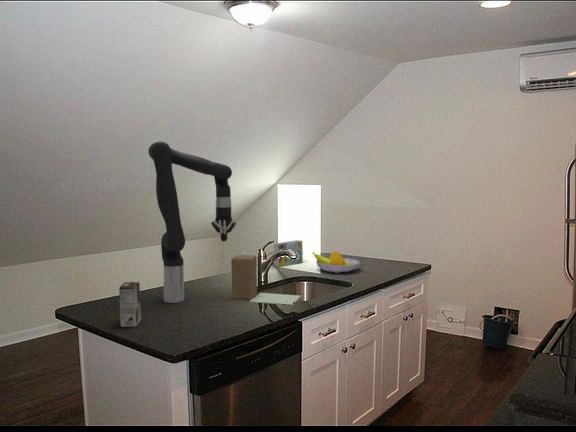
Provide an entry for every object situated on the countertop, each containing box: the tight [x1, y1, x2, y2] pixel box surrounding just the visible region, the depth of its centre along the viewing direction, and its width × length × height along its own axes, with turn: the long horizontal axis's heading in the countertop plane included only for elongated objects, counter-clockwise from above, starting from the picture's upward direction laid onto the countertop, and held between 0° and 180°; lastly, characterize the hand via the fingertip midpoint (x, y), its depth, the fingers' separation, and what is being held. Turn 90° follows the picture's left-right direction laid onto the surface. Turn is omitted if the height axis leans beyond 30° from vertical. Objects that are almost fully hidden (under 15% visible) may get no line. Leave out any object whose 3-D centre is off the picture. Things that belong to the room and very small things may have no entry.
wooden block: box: [230, 254, 258, 301], centre depth 239 cm, size 10×10×20 cm
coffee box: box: [119, 281, 142, 328], centre depth 199 cm, size 9×6×16 cm
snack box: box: [273, 239, 304, 268], centre depth 322 cm, size 21×6×15 cm, turn 133°
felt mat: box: [248, 292, 302, 306], centre depth 236 cm, size 16×21×1 cm
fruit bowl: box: [312, 251, 360, 274], centre depth 302 cm, size 28×27×11 cm
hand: (224, 241), depth 241 cm, fingers closed
